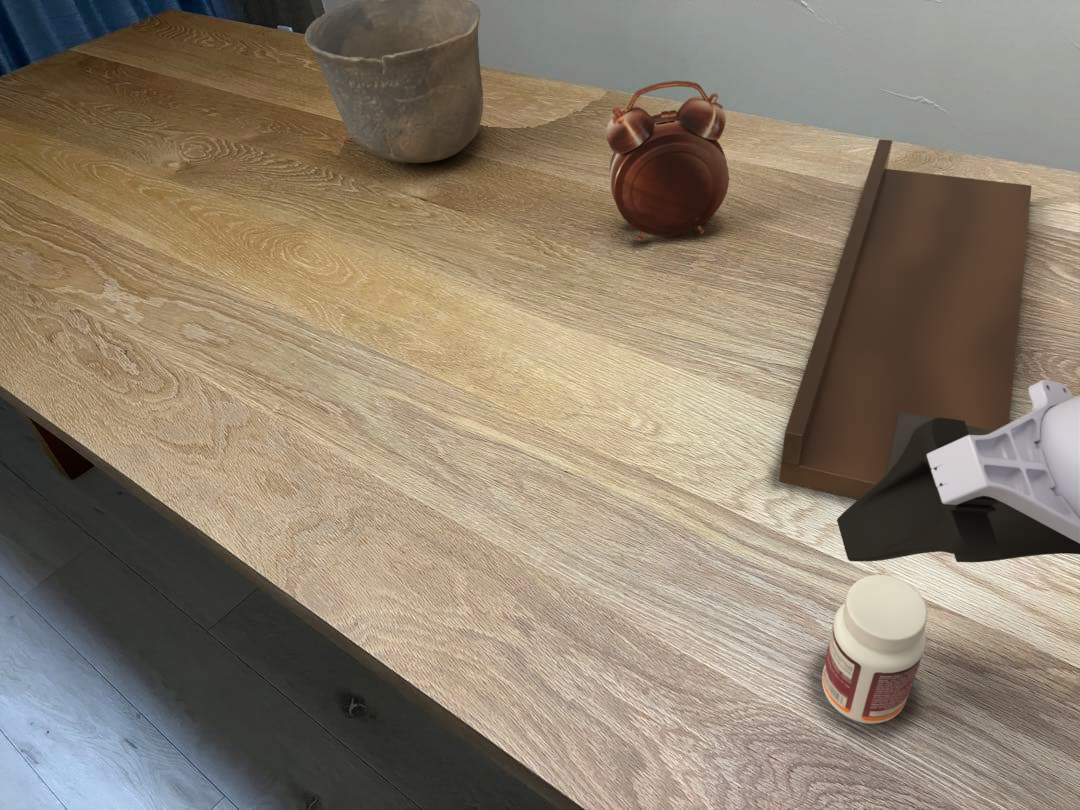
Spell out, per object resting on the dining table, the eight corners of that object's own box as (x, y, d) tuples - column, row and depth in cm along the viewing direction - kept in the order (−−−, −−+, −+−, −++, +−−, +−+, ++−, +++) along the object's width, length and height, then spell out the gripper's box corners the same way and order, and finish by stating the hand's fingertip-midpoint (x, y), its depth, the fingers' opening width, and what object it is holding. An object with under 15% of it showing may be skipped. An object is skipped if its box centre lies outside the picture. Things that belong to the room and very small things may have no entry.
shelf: (1025, 204, 86) (1041, 155, 83) (993, 532, 60) (1013, 481, 57) (871, 185, 91) (879, 138, 87) (778, 481, 65) (784, 432, 61)
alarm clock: (717, 211, 90) (725, 63, 80) (728, 238, 87) (737, 87, 76) (607, 224, 90) (600, 77, 80) (613, 252, 87) (607, 102, 76)
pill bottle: (912, 666, 54) (942, 583, 48) (898, 738, 51) (928, 658, 45) (830, 640, 55) (849, 557, 50) (811, 708, 52) (830, 628, 47)
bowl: (393, 212, 96) (360, 74, 85) (313, 156, 106) (275, 27, 96) (526, 148, 103) (510, 13, 92) (438, 102, 113) (416, -24, 103)
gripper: (1251, 353, 38) (970, 470, 48) (1051, 300, 31) (771, 451, 41) (1333, 515, 35) (1016, 602, 46) (1135, 500, 28) (811, 608, 38)
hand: (903, 541), depth 43 cm, fingers open, 7 cm apart
